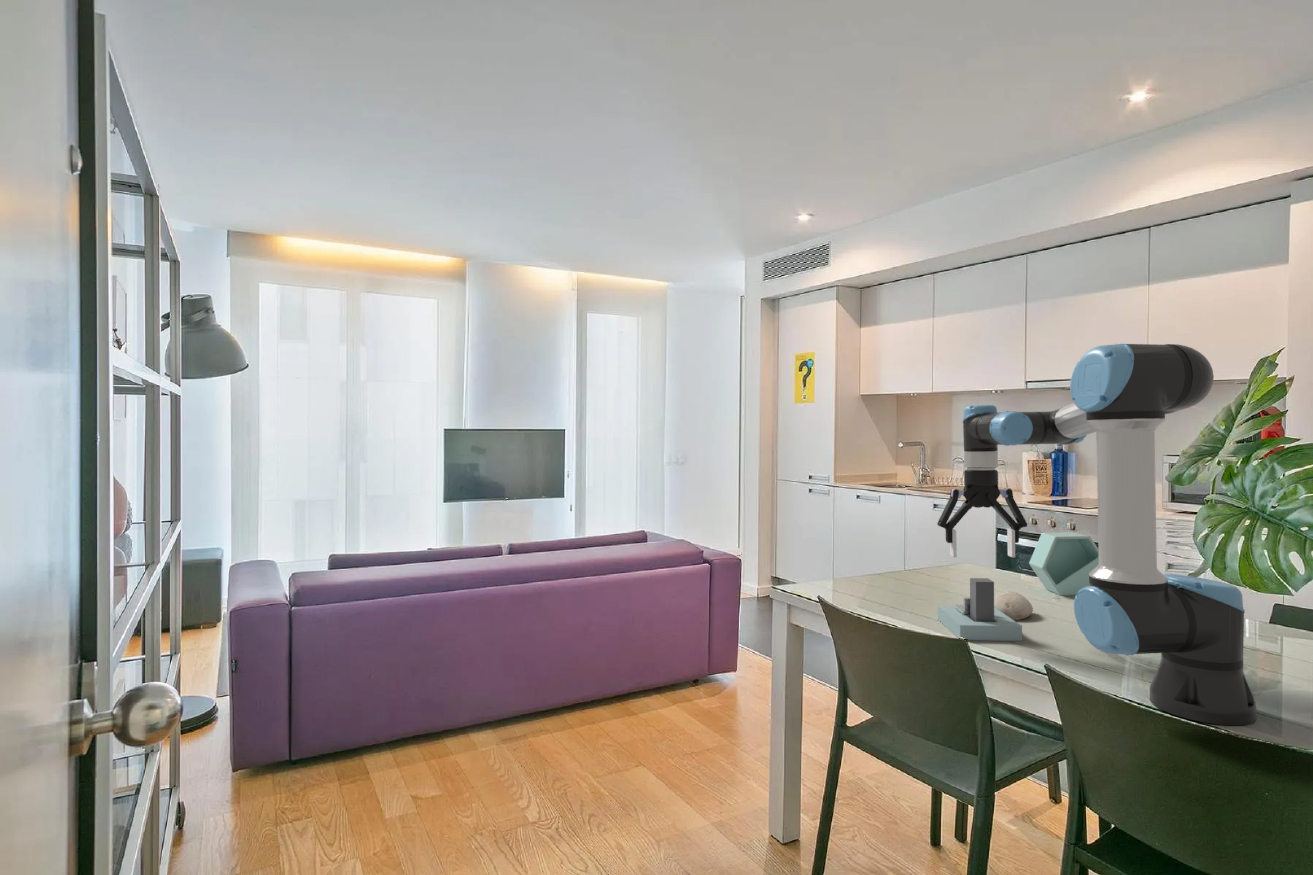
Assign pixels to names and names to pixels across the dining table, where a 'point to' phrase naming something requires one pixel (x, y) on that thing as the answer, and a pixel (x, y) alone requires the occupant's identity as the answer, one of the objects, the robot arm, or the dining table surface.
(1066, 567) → the planter
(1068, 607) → the dining table surface
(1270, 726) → the dining table surface
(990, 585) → the plug
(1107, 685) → the dining table surface
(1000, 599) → the stone
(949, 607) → the socket board
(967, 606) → the shutter
